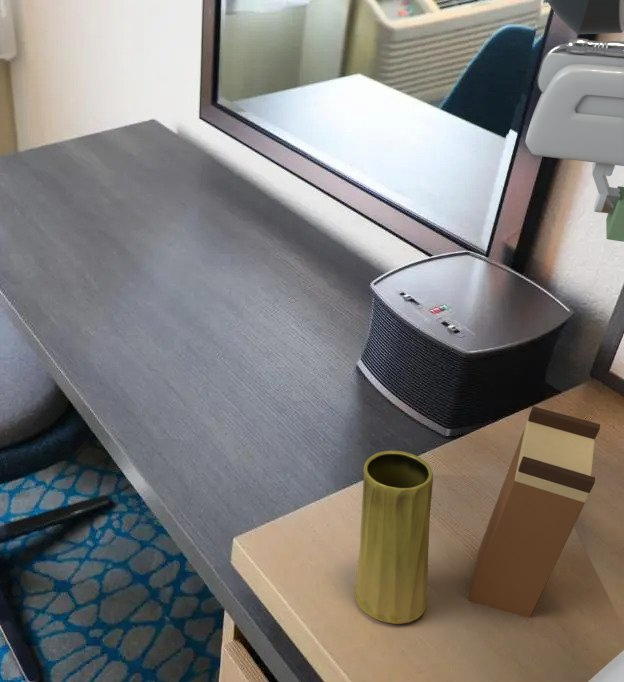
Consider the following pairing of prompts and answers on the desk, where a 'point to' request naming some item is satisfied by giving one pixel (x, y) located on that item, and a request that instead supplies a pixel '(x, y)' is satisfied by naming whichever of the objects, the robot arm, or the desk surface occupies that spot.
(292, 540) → the desk surface
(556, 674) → the desk surface
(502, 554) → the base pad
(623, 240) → the green pad
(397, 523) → the vase
